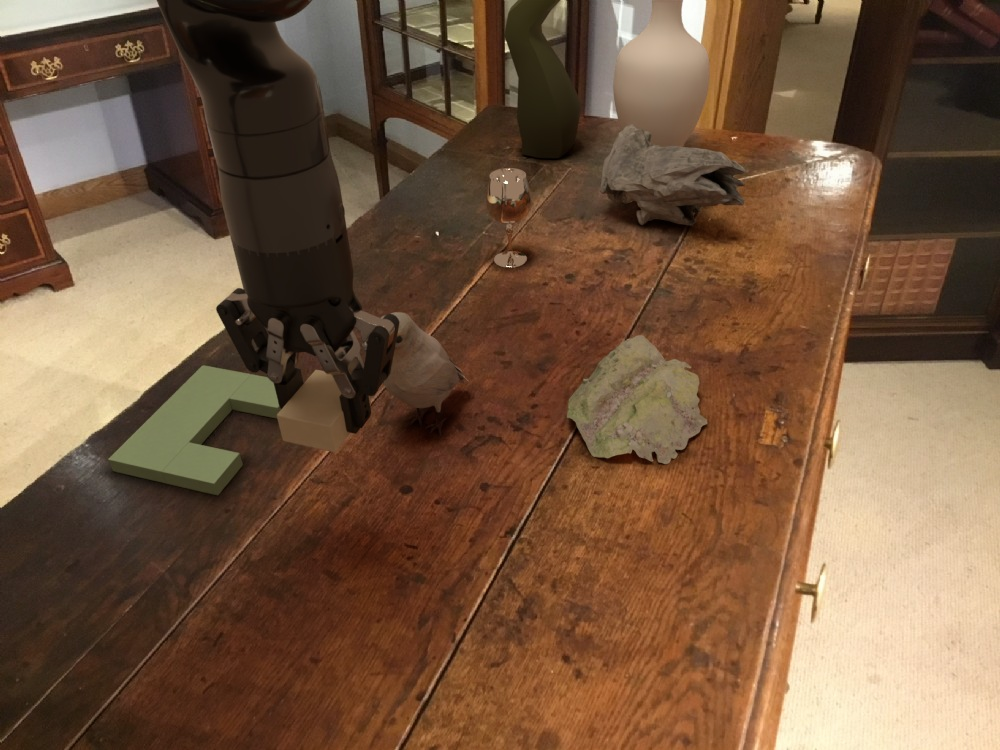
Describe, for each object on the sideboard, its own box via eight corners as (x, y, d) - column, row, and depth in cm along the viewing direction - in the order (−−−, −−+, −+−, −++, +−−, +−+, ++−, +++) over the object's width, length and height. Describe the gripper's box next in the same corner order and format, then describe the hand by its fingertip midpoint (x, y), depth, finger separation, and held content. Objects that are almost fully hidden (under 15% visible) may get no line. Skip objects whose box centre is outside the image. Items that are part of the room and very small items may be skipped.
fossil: (724, 278, 119) (788, 187, 111) (618, 244, 112) (679, 143, 104) (674, 206, 134) (727, 120, 126) (578, 171, 127) (628, 78, 119)
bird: (363, 453, 84) (341, 327, 75) (446, 383, 93) (435, 262, 84) (401, 472, 82) (383, 344, 73) (483, 398, 91) (475, 275, 82)
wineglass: (517, 274, 111) (514, 188, 104) (480, 263, 114) (476, 179, 106) (539, 255, 115) (539, 171, 108) (504, 245, 118) (501, 163, 110)
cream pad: (336, 453, 64) (330, 426, 62) (282, 441, 65) (275, 415, 63) (371, 405, 68) (367, 379, 66) (320, 394, 69) (315, 368, 68)
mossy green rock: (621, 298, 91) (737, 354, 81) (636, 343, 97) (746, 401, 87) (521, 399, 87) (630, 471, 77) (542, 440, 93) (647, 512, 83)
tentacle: (570, 164, 139) (573, -36, 121) (499, 156, 142) (492, -40, 124) (585, 144, 145) (590, -49, 127) (518, 136, 149) (513, -52, 131)
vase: (597, 152, 142) (604, -30, 125) (678, 141, 145) (695, -38, 128) (628, 187, 131) (640, -8, 114) (714, 175, 133) (739, -17, 117)
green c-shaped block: (218, 495, 80) (214, 483, 79) (112, 471, 83) (107, 459, 82) (301, 394, 92) (298, 382, 91) (206, 376, 95) (202, 365, 94)
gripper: (161, 233, 55) (221, 432, 66) (358, 263, 51) (390, 470, 61) (227, 186, 61) (273, 376, 71) (409, 209, 57) (430, 408, 67)
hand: (327, 419), depth 66 cm, fingers closed on cream pad, 4 cm apart
